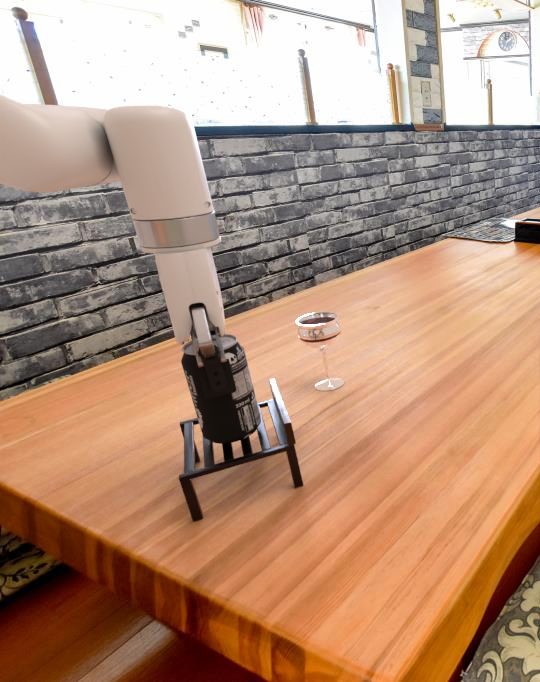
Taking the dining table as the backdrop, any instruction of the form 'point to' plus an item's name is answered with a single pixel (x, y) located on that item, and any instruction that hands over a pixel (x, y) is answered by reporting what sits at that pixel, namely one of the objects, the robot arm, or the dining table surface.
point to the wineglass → (321, 340)
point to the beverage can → (224, 396)
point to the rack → (283, 435)
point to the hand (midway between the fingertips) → (219, 381)
